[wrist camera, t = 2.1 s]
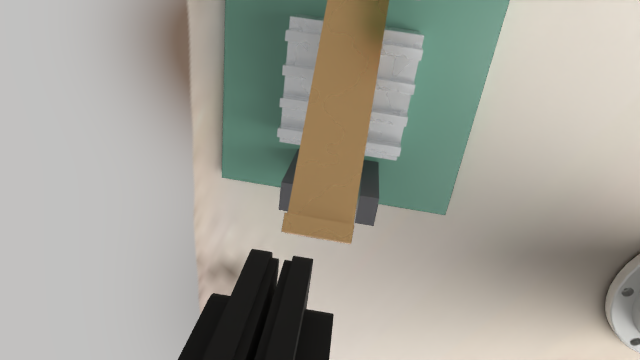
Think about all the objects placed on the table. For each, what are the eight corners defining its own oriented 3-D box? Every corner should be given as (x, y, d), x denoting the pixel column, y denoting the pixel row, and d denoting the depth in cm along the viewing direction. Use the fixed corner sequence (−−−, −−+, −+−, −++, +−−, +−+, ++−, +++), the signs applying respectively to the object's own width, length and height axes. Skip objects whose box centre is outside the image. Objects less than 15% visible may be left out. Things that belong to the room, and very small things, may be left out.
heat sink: (435, -42, 25) (454, -53, 19) (394, 145, 30) (399, 182, 24) (305, -60, 25) (284, -75, 19) (287, 128, 30) (266, 161, 24)
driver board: (518, -45, 25) (566, -58, 18) (443, 208, 33) (459, 260, 26) (232, -82, 26) (186, -106, 20) (225, 172, 34) (191, 214, 27)
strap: (392, -23, 21) (397, -50, 19) (349, 244, 19) (351, 243, 17) (335, -31, 21) (335, -58, 20) (286, 233, 19) (281, 231, 17)
